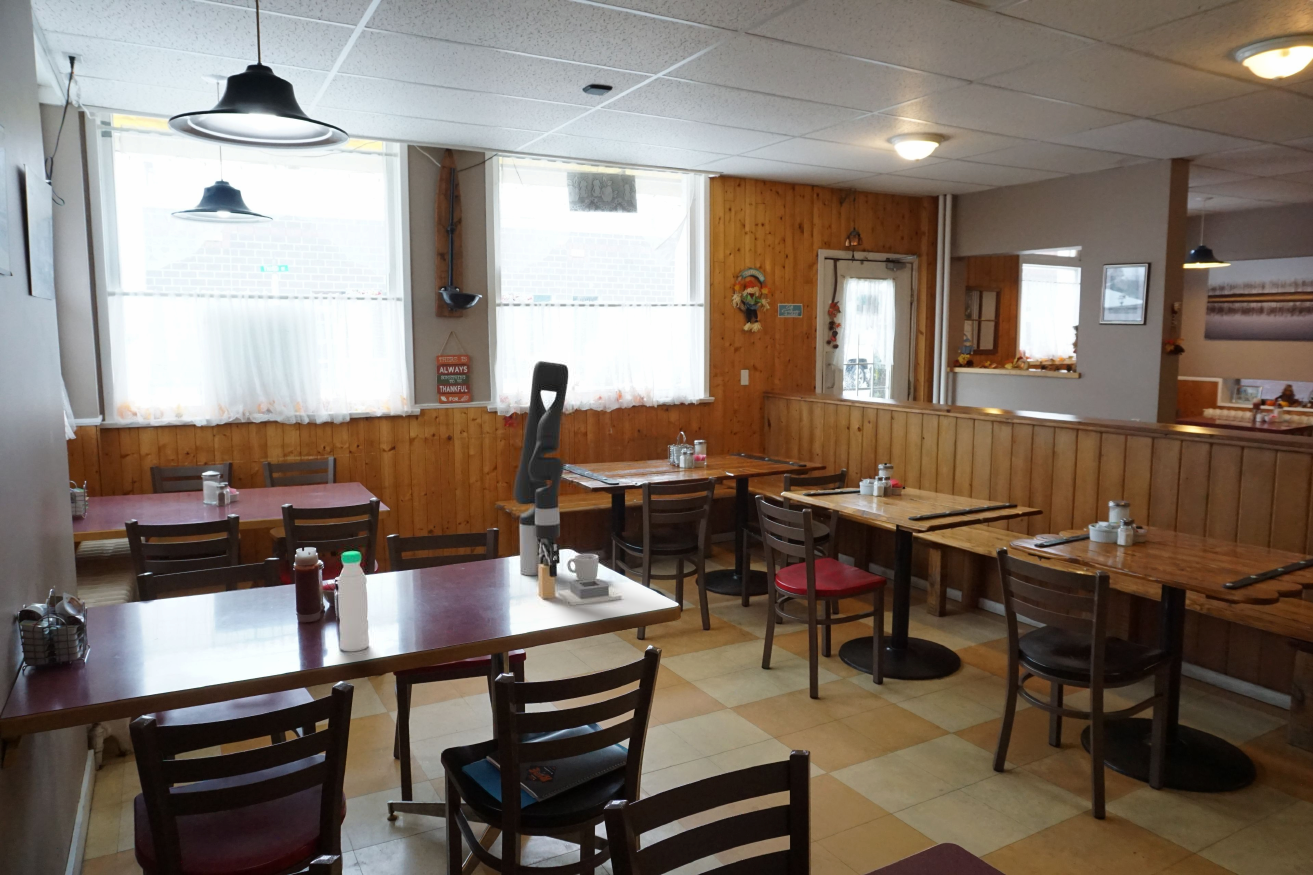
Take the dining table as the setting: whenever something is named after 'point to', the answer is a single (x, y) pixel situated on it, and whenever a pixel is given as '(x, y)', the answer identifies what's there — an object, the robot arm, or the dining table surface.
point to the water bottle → (352, 604)
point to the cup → (585, 566)
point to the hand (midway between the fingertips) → (548, 573)
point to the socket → (588, 592)
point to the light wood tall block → (545, 581)
